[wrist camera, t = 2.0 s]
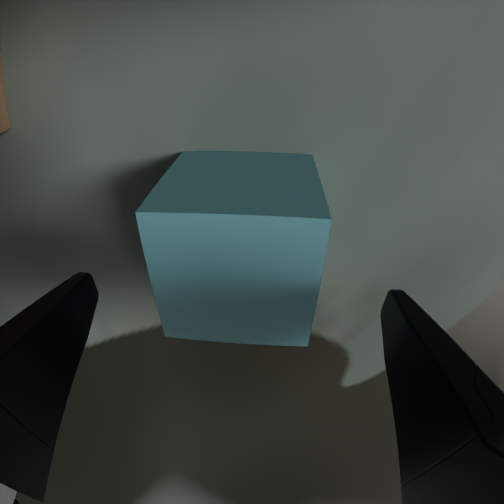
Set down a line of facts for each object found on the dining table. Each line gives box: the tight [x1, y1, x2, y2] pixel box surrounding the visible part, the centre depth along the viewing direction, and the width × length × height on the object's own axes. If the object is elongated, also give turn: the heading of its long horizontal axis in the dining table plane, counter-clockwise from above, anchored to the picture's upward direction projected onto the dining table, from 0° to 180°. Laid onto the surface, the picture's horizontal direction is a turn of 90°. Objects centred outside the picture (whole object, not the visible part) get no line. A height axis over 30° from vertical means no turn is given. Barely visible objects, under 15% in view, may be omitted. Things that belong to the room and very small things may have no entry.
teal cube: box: [135, 151, 332, 346], centre depth 11 cm, size 5×5×5 cm
